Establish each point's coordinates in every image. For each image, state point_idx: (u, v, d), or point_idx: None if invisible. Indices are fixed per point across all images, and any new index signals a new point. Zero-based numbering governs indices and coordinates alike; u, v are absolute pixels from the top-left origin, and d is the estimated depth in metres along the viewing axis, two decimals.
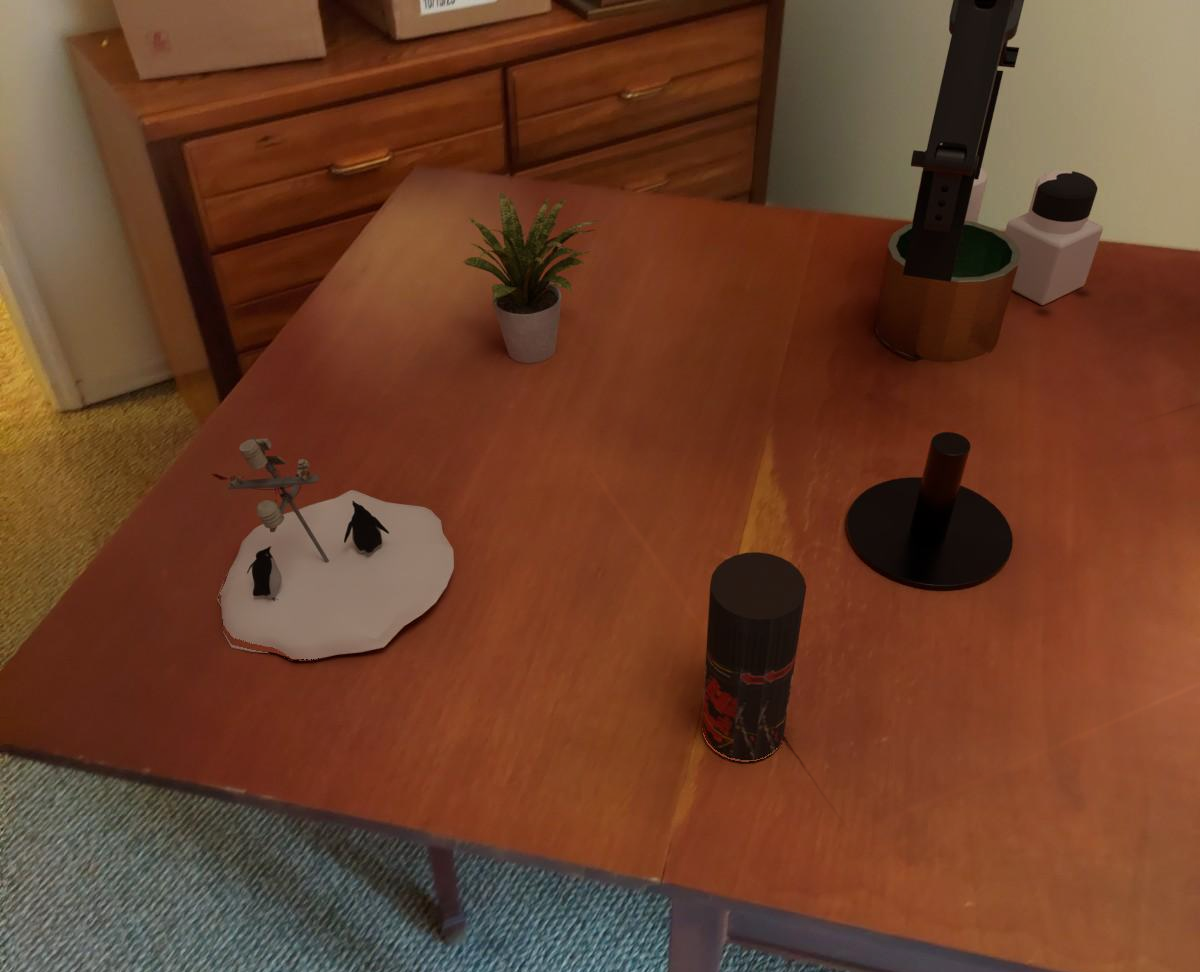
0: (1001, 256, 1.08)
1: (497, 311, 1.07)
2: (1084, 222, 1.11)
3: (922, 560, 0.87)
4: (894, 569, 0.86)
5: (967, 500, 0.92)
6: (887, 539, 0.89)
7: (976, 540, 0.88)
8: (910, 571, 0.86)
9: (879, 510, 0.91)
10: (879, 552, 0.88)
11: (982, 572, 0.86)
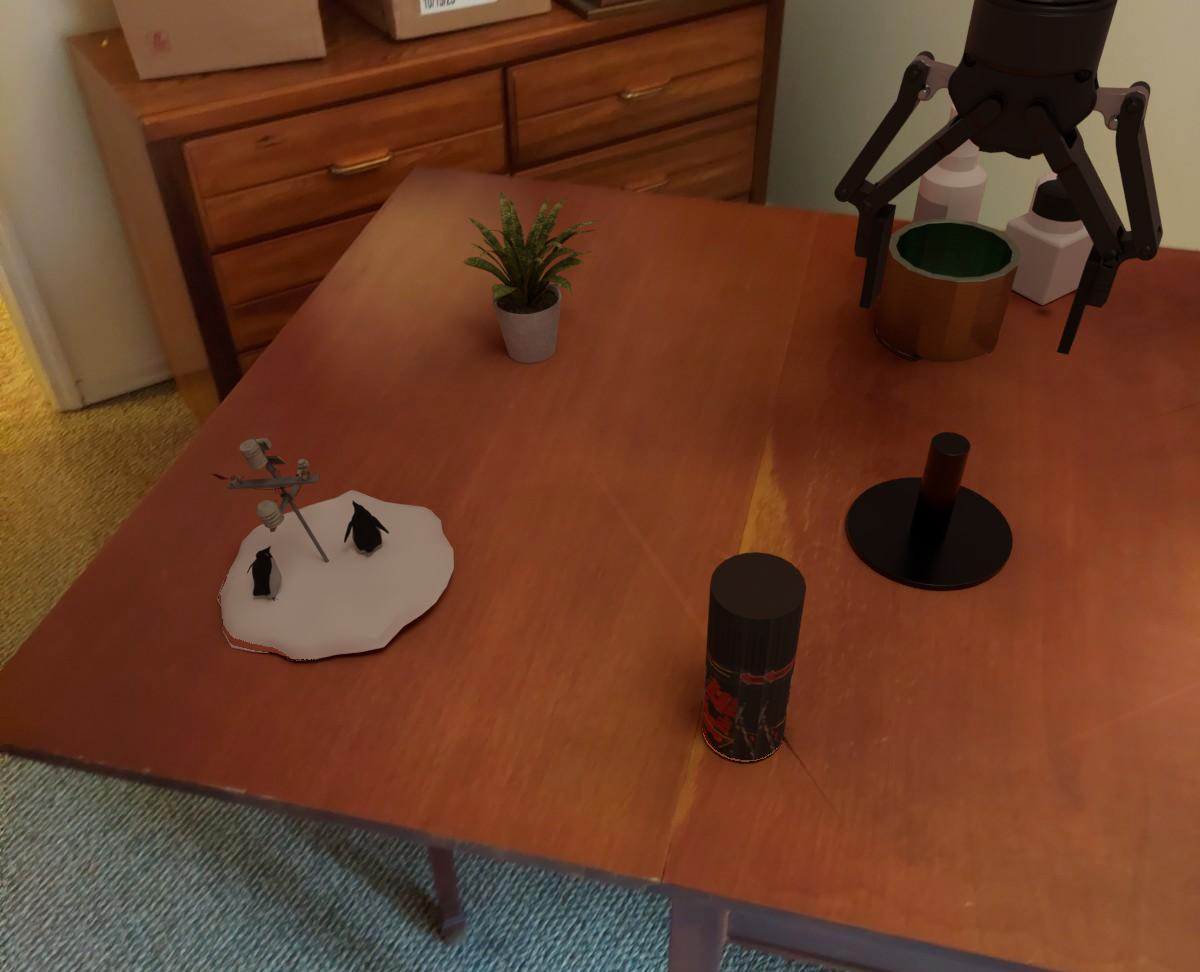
0: (1001, 256, 1.08)
1: (497, 311, 1.07)
2: None
3: (922, 560, 0.87)
4: (894, 569, 0.86)
5: (967, 500, 0.92)
6: (887, 539, 0.89)
7: (976, 540, 0.88)
8: (910, 571, 0.86)
9: (879, 510, 0.91)
10: (879, 552, 0.88)
11: (982, 572, 0.86)
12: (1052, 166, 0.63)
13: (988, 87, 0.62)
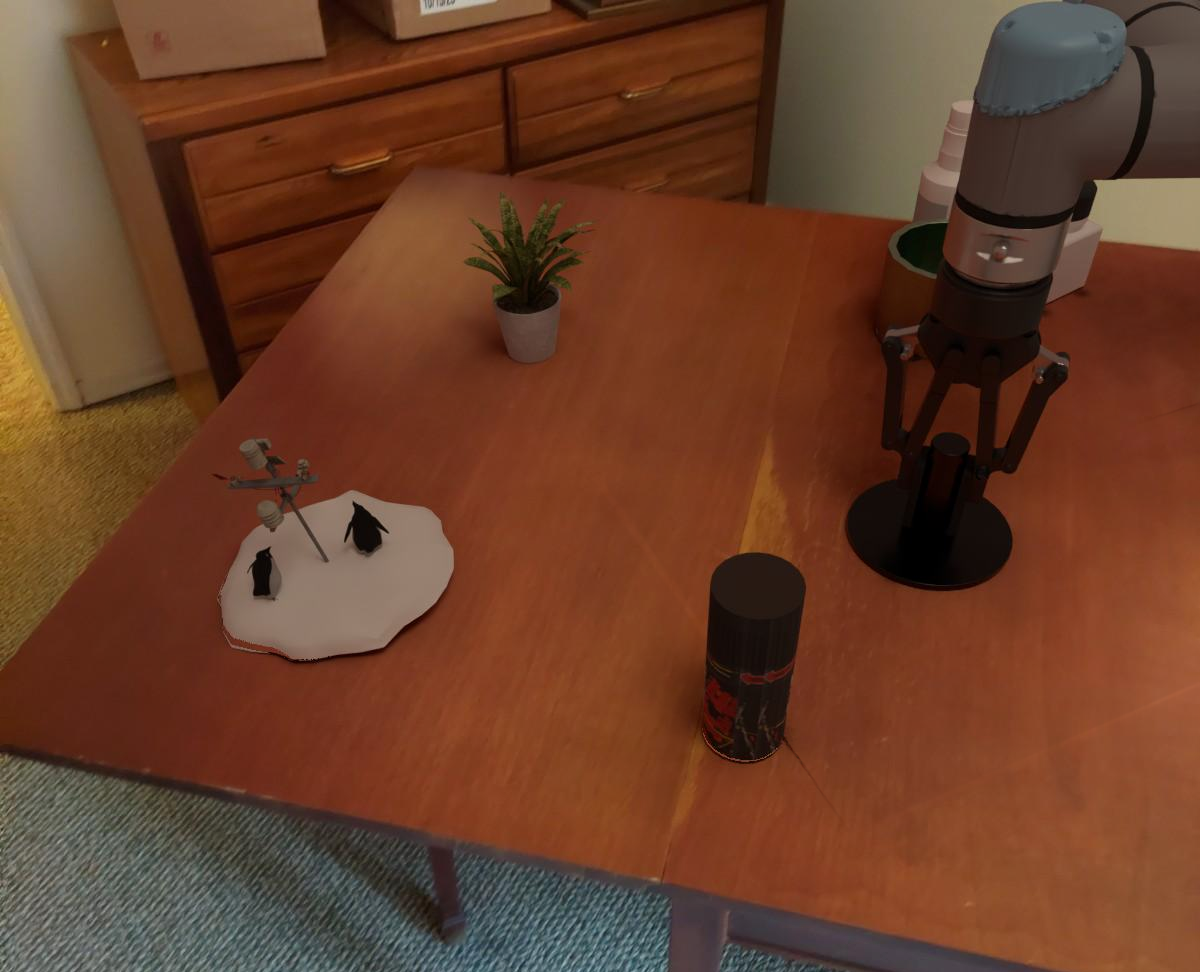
0: None
1: (497, 311, 1.07)
2: (1084, 222, 1.11)
3: (922, 560, 0.87)
4: (894, 569, 0.86)
5: None
6: (887, 539, 0.89)
7: (976, 540, 0.88)
8: (910, 571, 0.86)
9: (879, 510, 0.91)
10: (879, 552, 0.88)
11: (982, 572, 0.86)
12: (981, 398, 0.78)
13: (948, 329, 0.75)
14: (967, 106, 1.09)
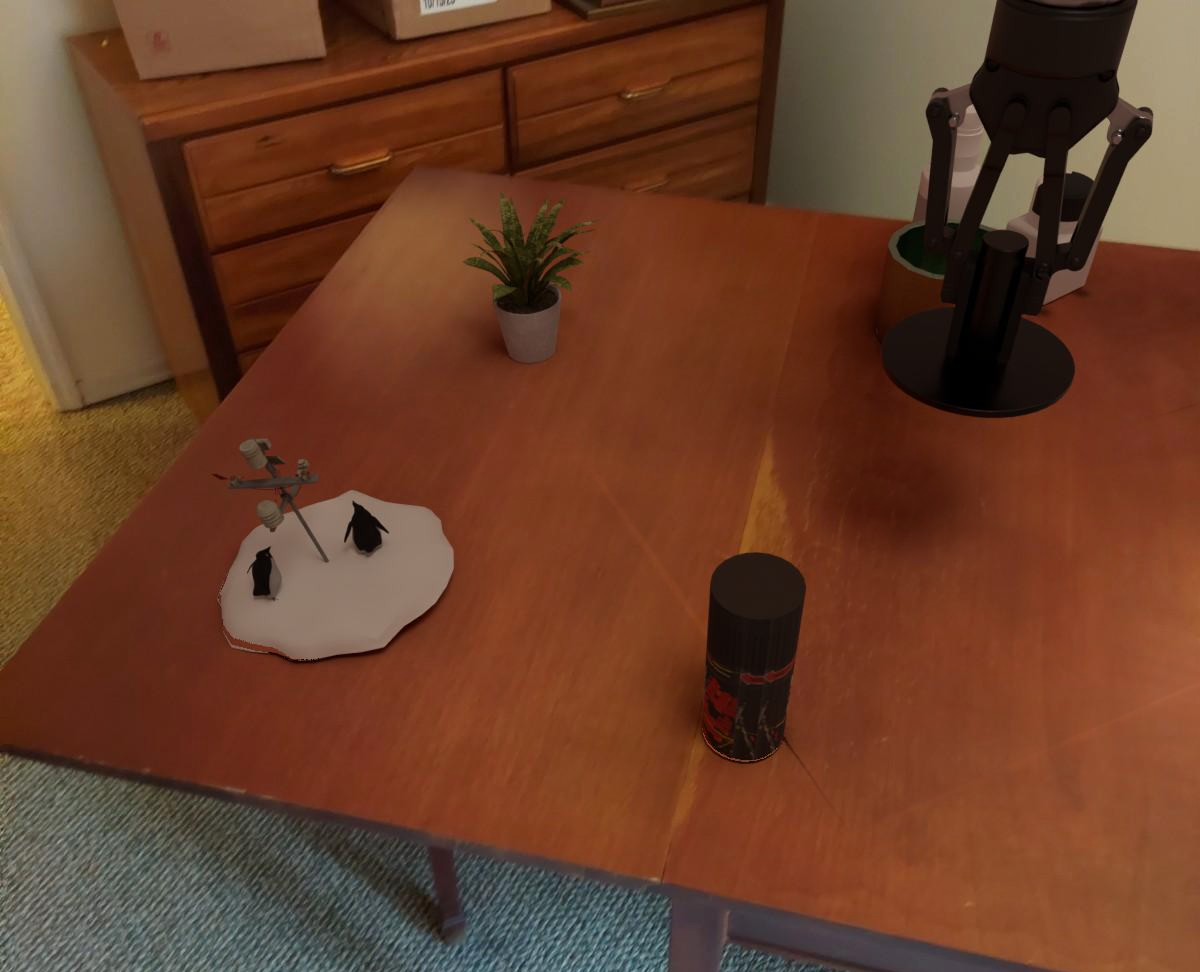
0: None
1: (497, 311, 1.07)
2: None
3: (970, 386, 0.75)
4: (938, 396, 0.74)
5: (1020, 328, 0.80)
6: (929, 366, 0.77)
7: (1032, 366, 0.76)
8: (957, 397, 0.74)
9: (918, 339, 0.79)
10: (920, 379, 0.75)
11: (1041, 397, 0.73)
12: (1046, 169, 0.65)
13: (1008, 79, 0.63)
14: None
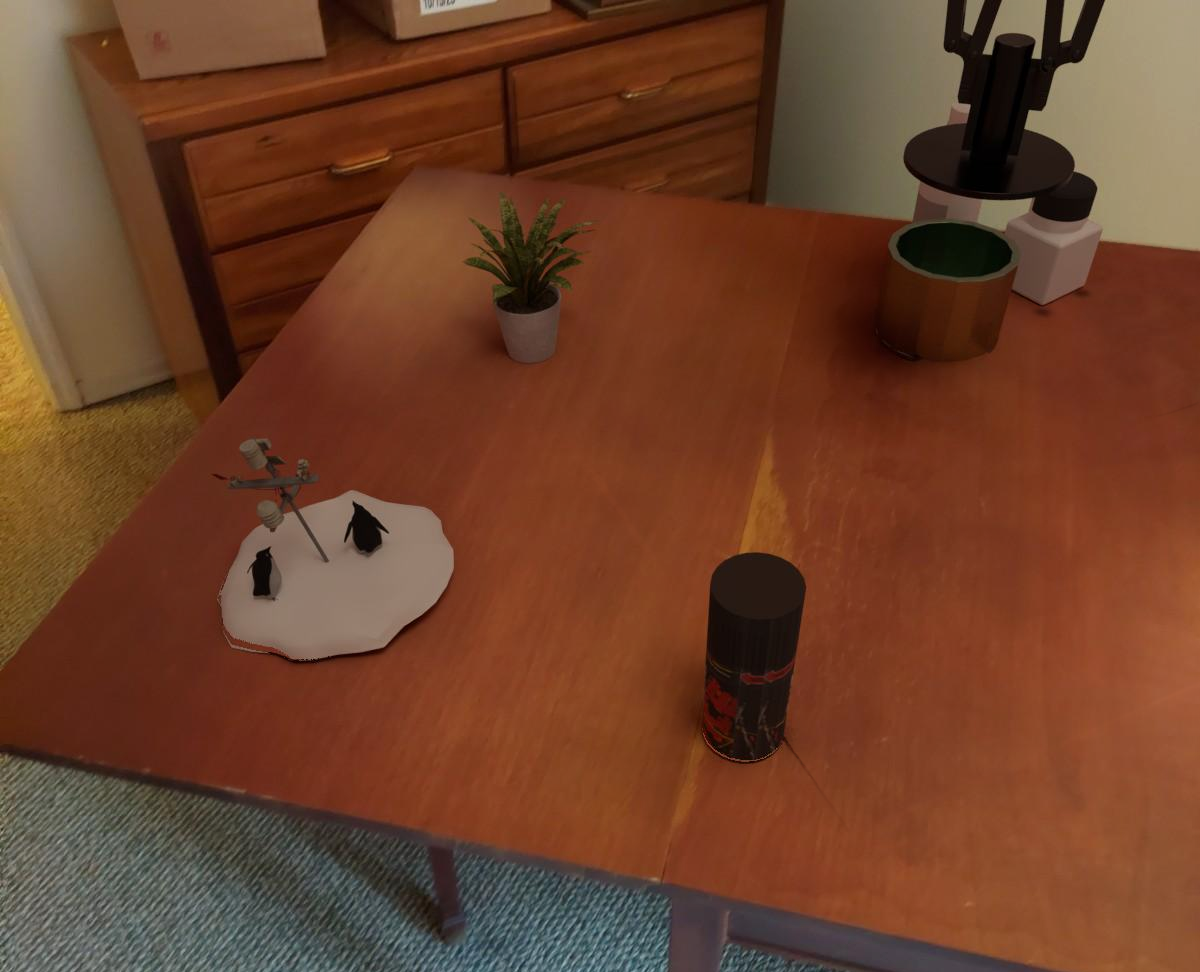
0: (1001, 256, 1.08)
1: (497, 311, 1.07)
2: (1084, 222, 1.11)
3: (984, 177, 0.85)
4: (957, 184, 0.84)
5: (1025, 137, 0.90)
6: (947, 164, 0.87)
7: (1037, 162, 0.87)
8: (973, 184, 0.84)
9: (936, 145, 0.90)
10: (940, 173, 0.86)
11: (1046, 183, 0.84)
12: None
13: None
14: (967, 105, 1.09)
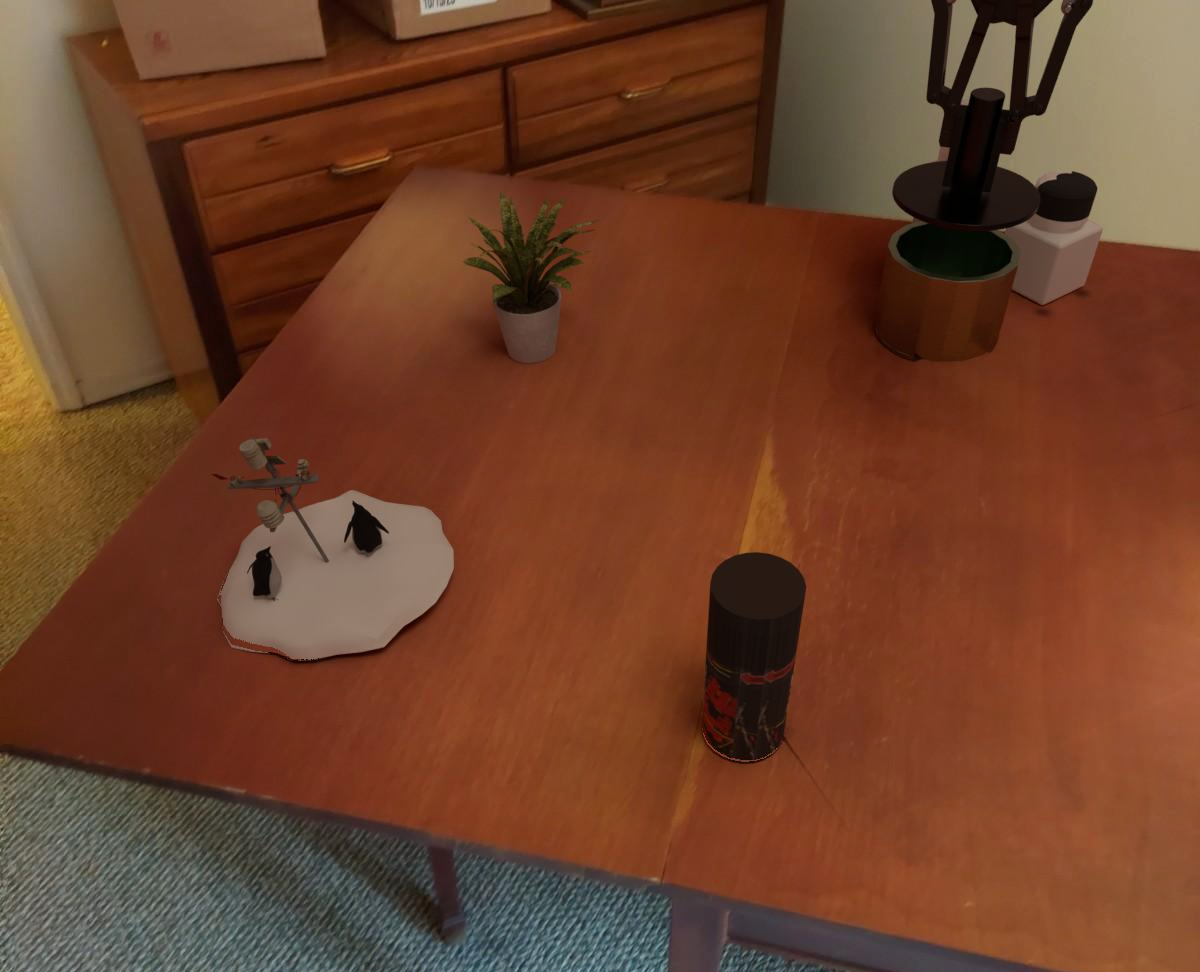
0: (1001, 256, 1.08)
1: (497, 311, 1.07)
2: (1084, 222, 1.11)
3: (961, 210, 0.99)
4: (936, 216, 0.98)
5: (999, 174, 1.04)
6: (929, 198, 1.00)
7: (1008, 198, 1.00)
8: (951, 217, 0.98)
9: (921, 180, 1.03)
10: (923, 206, 0.99)
11: (1014, 217, 0.97)
12: (1017, 33, 0.89)
13: None
14: None
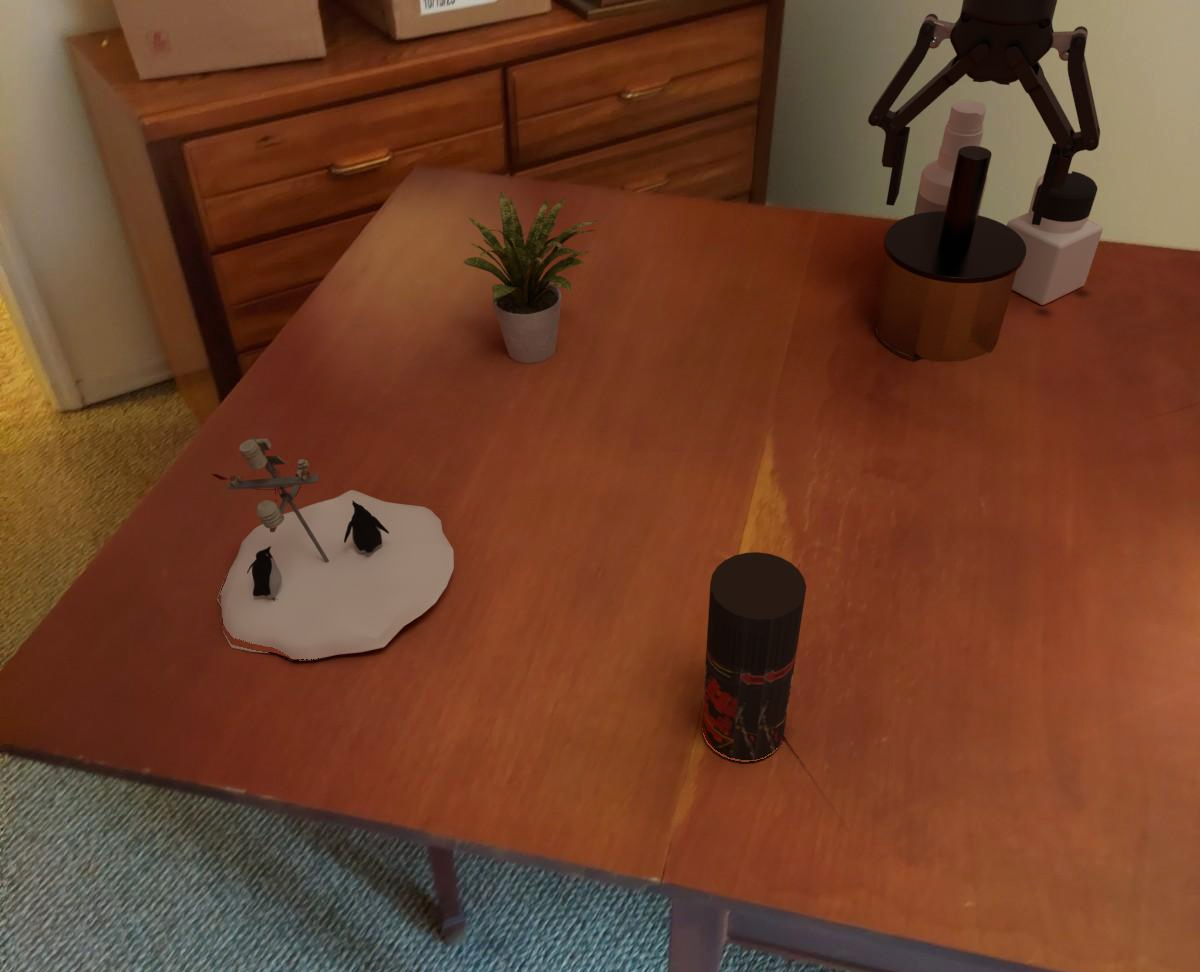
0: None
1: (497, 311, 1.07)
2: (1084, 222, 1.11)
3: (949, 262, 1.02)
4: (926, 268, 1.02)
5: (987, 225, 1.07)
6: (919, 250, 1.04)
7: (995, 249, 1.04)
8: (940, 269, 1.02)
9: (912, 232, 1.07)
10: (913, 258, 1.03)
11: (1001, 269, 1.01)
12: (1025, 88, 0.92)
13: (979, 35, 0.91)
14: (967, 105, 1.09)
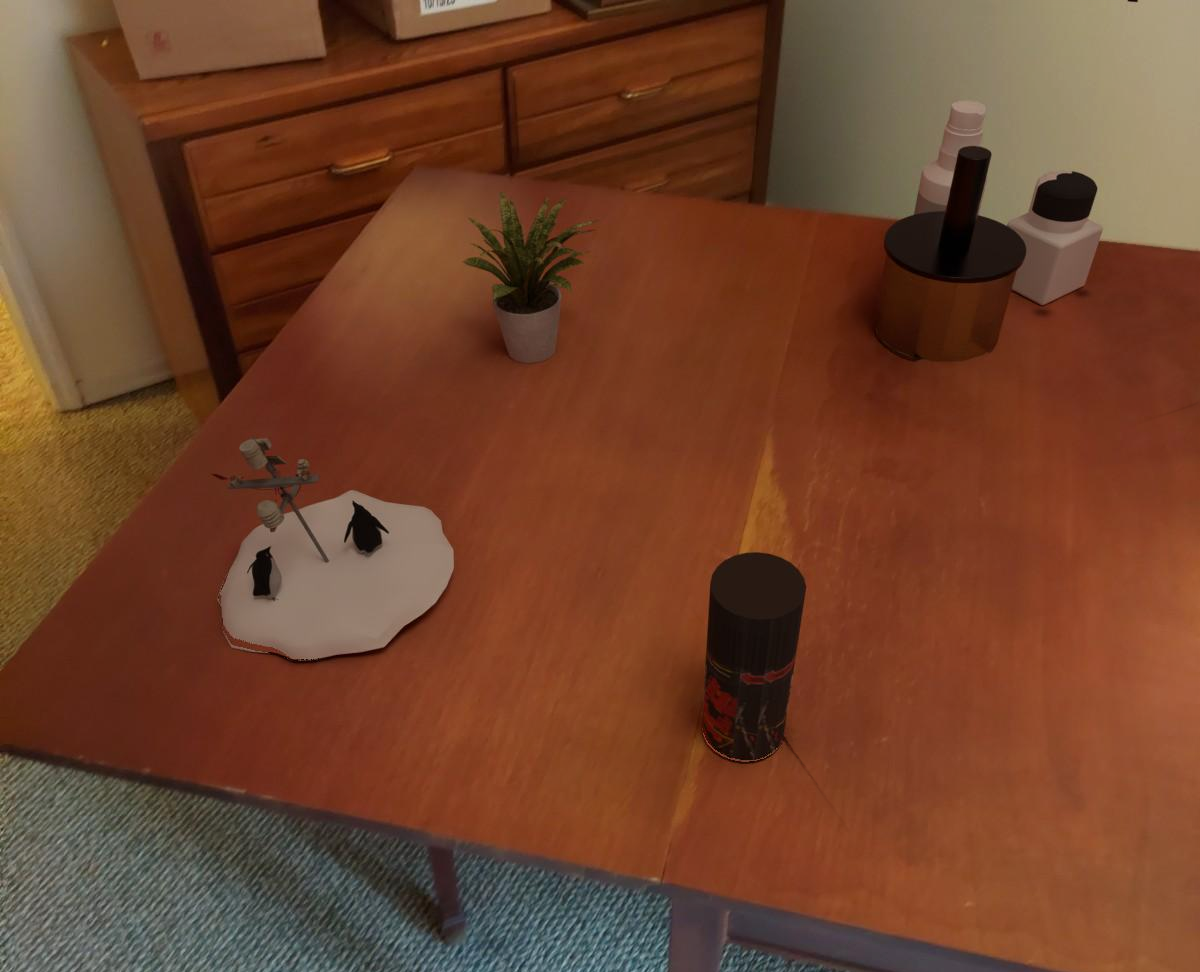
0: None
1: (497, 311, 1.07)
2: (1084, 222, 1.11)
3: (949, 262, 1.02)
4: (926, 268, 1.02)
5: (987, 225, 1.07)
6: (919, 250, 1.04)
7: (995, 249, 1.04)
8: (940, 269, 1.02)
9: (912, 232, 1.07)
10: (913, 258, 1.03)
11: (1001, 269, 1.01)
12: None
13: None
14: (967, 105, 1.09)
